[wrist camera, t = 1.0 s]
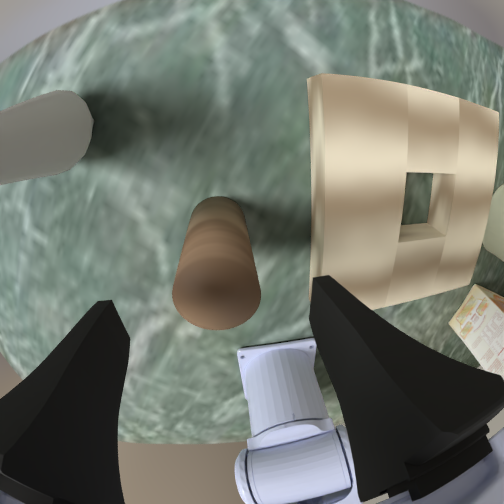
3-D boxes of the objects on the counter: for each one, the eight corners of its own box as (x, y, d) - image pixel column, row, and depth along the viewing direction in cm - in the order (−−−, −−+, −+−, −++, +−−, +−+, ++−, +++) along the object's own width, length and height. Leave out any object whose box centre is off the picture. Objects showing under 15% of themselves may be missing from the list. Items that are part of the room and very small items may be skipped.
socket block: (453, 270, 25) (469, 284, 23) (308, 298, 24) (318, 320, 22) (477, 108, 17) (498, 112, 14) (306, 78, 16) (321, 73, 13)
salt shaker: (79, 75, 14) (-59, 67, 2) (119, 130, 16) (-16, 171, 5) (32, 130, 15) (-97, 176, 3) (67, 181, 17) (-52, 268, 6)
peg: (247, 244, 21) (263, 325, 13) (195, 250, 21) (183, 333, 13) (242, 193, 19) (258, 253, 12) (186, 200, 19) (162, 264, 11)
